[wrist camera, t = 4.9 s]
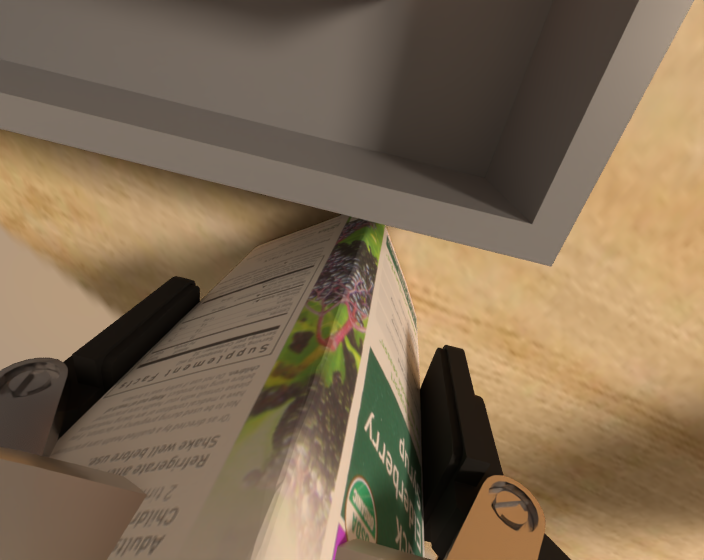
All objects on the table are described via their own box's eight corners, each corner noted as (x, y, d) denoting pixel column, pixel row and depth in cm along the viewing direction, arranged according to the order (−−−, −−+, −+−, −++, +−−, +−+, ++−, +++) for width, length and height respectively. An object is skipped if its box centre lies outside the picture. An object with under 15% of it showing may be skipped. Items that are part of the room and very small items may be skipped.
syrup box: (421, 317, 16) (491, 1226, 3) (305, 348, 18) (34, 1021, 5) (377, 198, 14) (4, 1546, 1) (249, 245, 15) (-523, 968, 3)
